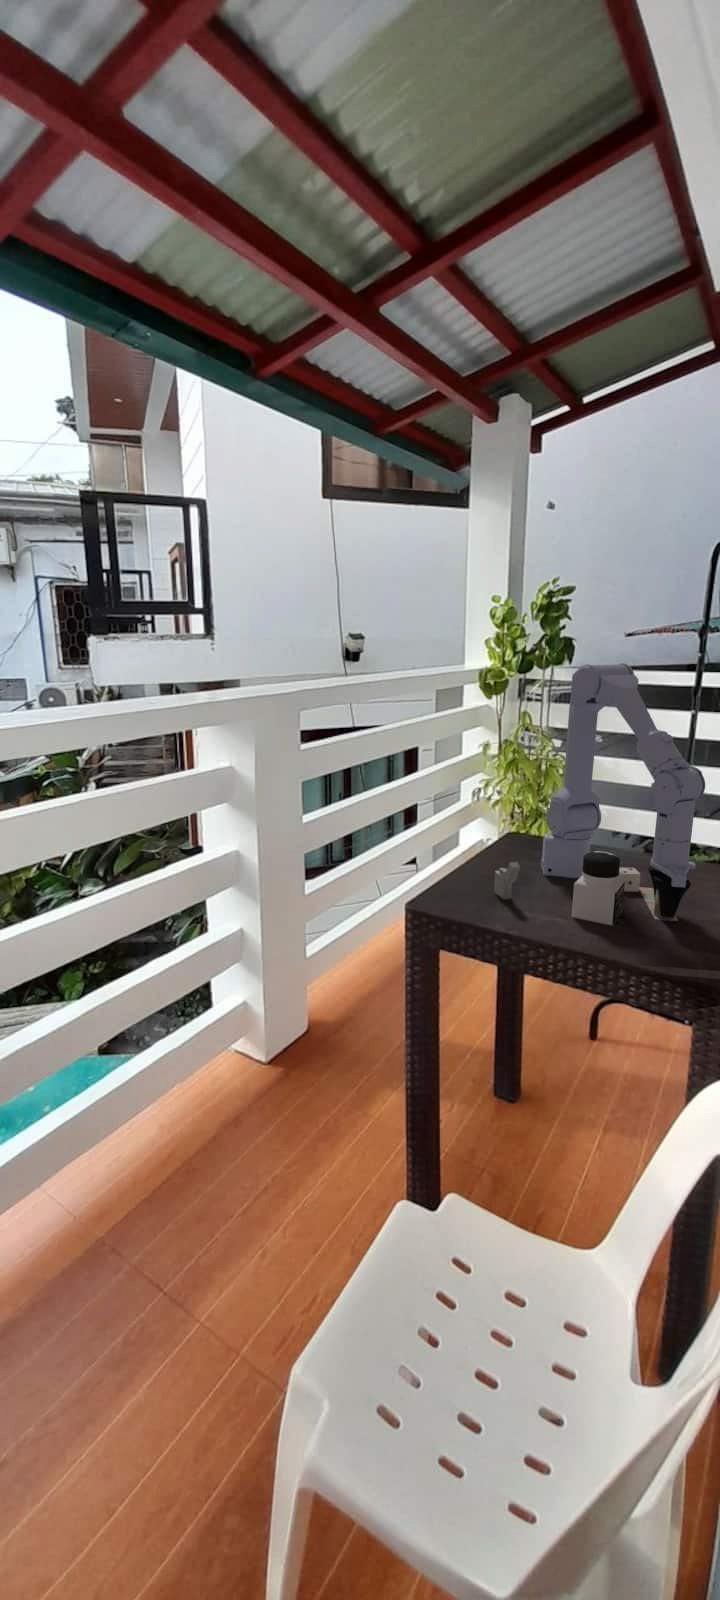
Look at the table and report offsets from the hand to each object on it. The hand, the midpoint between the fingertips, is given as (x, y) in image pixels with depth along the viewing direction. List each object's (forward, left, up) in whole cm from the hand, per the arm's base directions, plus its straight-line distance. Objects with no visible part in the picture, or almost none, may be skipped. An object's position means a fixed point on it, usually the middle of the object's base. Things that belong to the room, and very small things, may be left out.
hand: (664, 911), depth 123 cm
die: (-4, +13, -1) cm, 14 cm away
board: (-2, +6, -2) cm, 7 cm away
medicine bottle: (-11, -2, -2) cm, 12 cm away
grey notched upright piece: (-27, +6, -2) cm, 28 cm away
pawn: (0, 0, -1) cm, 1 cm away
